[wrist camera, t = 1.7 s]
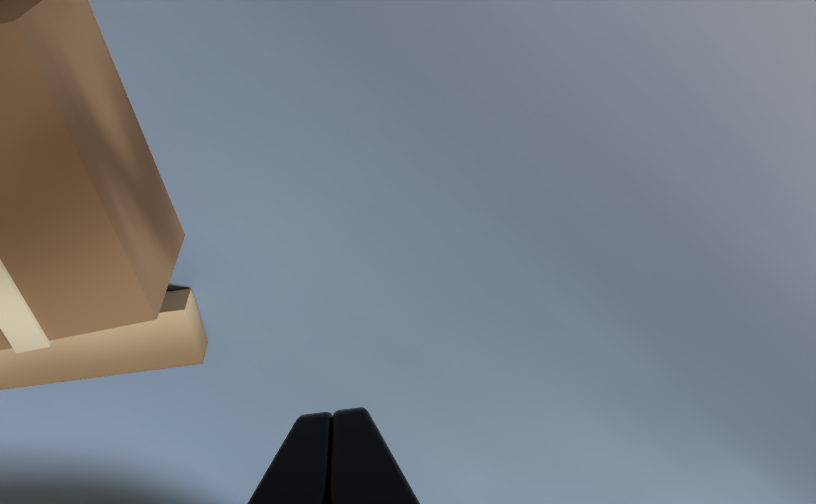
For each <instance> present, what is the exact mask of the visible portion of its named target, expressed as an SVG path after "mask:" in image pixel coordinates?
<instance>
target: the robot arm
mask: <svg viewBox="0 0 816 504" xmlns="http://www.w3.org/2000/svg"><path fill="white" fill-rule="evenodd" d="M248 504H420V503H419V501H418V500H417V498H416V496H415V494H414V492H413V491H412V489H411V487H410V485H409V484H408V482H407V480H406V478H405V476H404V475H403V473H402V471H401V469H400V468H399V466H398V464H397V462H396V460H395V459H394V457H393V455H392V453H391V452H390V450H389V448H388V446H387V444H386V443H385V441H384V439H383V437H382V436H381V434H380V432H379V430H378V428H377V427H376V425H375V423H374V421H373V420H372V418H371V416H370V414H369V412H368V411H367V410H366V409H365V408H363V407H360V408H352V409H344V410H338V411H336V412H335V413H334V415H332V414H331V413H329V412H321V413H314V414H306V415H302V416H300V417H299V418H298V419H297V420H296V422H295V423H294V425H293V427H292V429H291V430H290V432H289V434H288V435H287V437H286V439H285V441H284V442H283V444H282V446H281V447H280V449H279V451H278V452H277V454H276V456H275V458H274V459H273V461H272V463H271V464H270V466H269V468H268V470H267V471H266V473H265V475H264V476H263V478H262V480H261V482H260V483H259V485H258V487H257V488H256V490H255V492H254V494H253V495H252V497H251V499H250V500H249V502H248Z"/></svg>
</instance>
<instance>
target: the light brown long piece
mask: <svg viewBox="0 0 816 504" xmlns="http://www.w3.org/2000/svg"><path fill="white" fill-rule="evenodd" d="M207 343H208V340H207V337H206V334H205V331H204V328H203V325H202V322H201V319H200V315H199V312H198V309H197V306H196V303H195V300H194V297H193V294H192V290H191V289H183V290H176V291H168V292H166V294H165V297H164V300H163V303H162V306H161V309H160V312H159V315H158V318H157V319H156V320H151V321H146V322H141V323H136V324H131V325H126V326H121V327H116V328H111V329H106V330H101V331H96V332H91V333H86V334H81V335H76V336H71V337H66V338H61V339H56V340H53V341H52V343H51V345H50V347H46V348H41V349H36V350H31V351H26V352H21V353H16V352H15V351H14V349H13V348H11V349H6V350H1V351H0V390H2V389H10V388H18V387H25V386H33V385H41V384H49V383H56V382H64V381H72V380H80V379H87V378H95V377H103V376H110V375H118V374H126V373H134V372H141V371H149V370H157V369H165V368H172V367H180V366H188V365H196V364H203V361H204V356H205V352H206V348H207Z"/></svg>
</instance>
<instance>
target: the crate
mask: <svg viewBox="0 0 816 504" xmlns="http://www.w3.org/2000/svg"><path fill="white" fill-rule="evenodd" d="M184 236H185V234H184V232H183V229H182V227H181V224H180V222H179V220H178V217H177V215H176V212H175V210H174V207H173V205H172V203H171V200H170V198H169V195H168V193H167V191H166V188H165V186H164V183H163V181H162V179H161V176H160V174H159V171H158V169H157V166H156V164H155V162H154V159H153V157H152V154H151V152H150V150H149V147H148V145H147V142H146V140H145V138H144V135H143V133H142V130H141V128H140V125H139V123H138V121H137V118H136V116H135V113H134V111H133V109H132V106H131V104H130V101H129V99H128V97H127V94H126V92H125V89H124V87H123V84H122V82H121V80H120V77H119V75H118V72H117V70H116V68H115V65H114V63H113V60H112V58H111V56H110V53H109V51H108V48H107V46H106V44H105V41H104V39H103V36H102V34H101V31H100V29H99V27H98V24H97V22H96V19H95V17H94V15H93V12H92V10H91V7H90V5H89V3H88V0H0V351H1V350H6V349H11V348H13V349H14V351H15V352H16V353H21V352H26V351H31V350H36V349H41V348H46V347H50V345H51V343H52V341H53V340H56V339H61V338H66V337H71V336H76V335H81V334H86V333H91V332H96V331H101V330H106V329H111V328H116V327H121V326H126V325H131V324H136V323H141V322H146V321H151V320H156V319H157V318H158V315H159V312H160V309H161V306H162V303H163V300H164V297H165V294H166V290H167V287H168V284H169V281H170V278H171V275H172V272H173V269H174V266H175V263H176V260H177V257H178V254H179V251H180V248H181V245H182V242H183V239H184Z"/></svg>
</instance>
